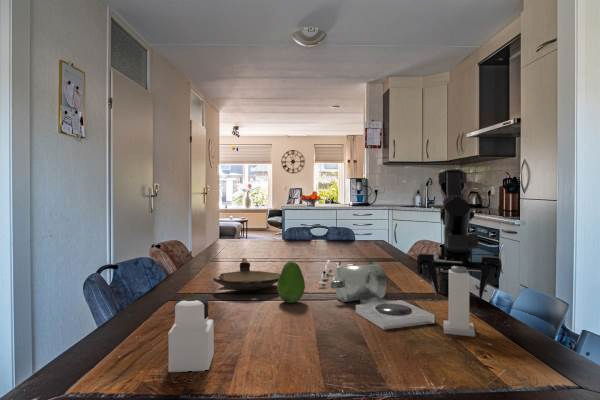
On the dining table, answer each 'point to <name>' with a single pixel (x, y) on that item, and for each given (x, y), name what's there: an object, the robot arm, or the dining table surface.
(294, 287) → the avocado
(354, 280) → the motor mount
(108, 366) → the dining table surface
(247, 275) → the oil lamp
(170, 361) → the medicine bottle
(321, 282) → the miniature set
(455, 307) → the white pedestal with button
